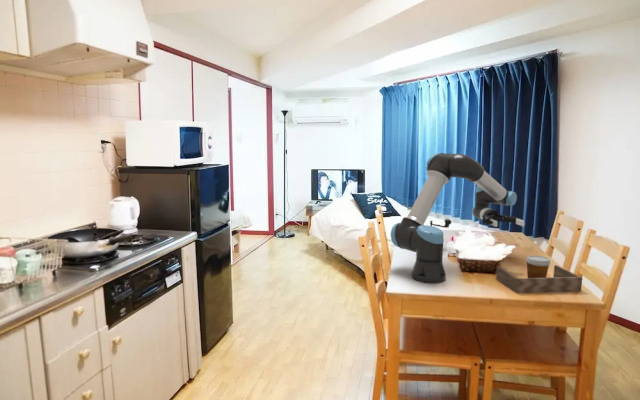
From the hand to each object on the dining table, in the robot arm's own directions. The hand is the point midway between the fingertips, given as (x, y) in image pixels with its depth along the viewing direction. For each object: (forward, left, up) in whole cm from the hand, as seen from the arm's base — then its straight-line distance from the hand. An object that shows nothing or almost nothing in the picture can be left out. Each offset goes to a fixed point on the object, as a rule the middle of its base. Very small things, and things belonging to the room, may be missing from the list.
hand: (510, 224), depth 200 cm
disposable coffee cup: (0, -25, -22) cm, 33 cm away
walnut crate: (0, -25, -22) cm, 33 cm away
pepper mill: (-24, +37, -22) cm, 50 cm away
